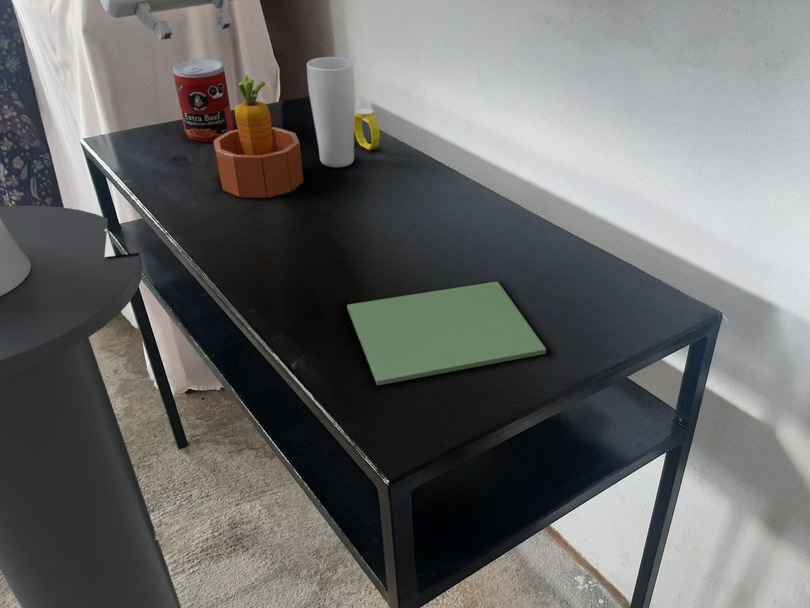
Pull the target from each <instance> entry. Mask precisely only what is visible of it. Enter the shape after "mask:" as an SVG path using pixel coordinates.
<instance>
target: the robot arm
mask: <svg viewBox="0 0 810 608" xmlns="http://www.w3.org/2000/svg"><path fill="white" fill-rule="evenodd" d="M99 1H100V3H101V6H102V9H103V10H104V11H105V13H106V14H108V15H109V16H111V17H112V18H114V19H118V18H125V17H126V18H127V17H133V16H136V17H137V19H138V20H139V22H141V23H142V24H143V25H145V26H146V27H147V28H149V29H150V30H152V31H153V32H154V34H155V35H156V37H157V38H158V40H159V41H163V40H169V39H171V38H172V35H173V30H172V29H171V27H170V26H169V23H168V21H167V20H160V19H158V18H157V17H156V16H155V15H154V14H153V13H158V12H166V11H172V10H178V9H186V8H193V7H199V6H205V5H211V4H212V5H213V6H214V8H215V9H219V11H218V12H217V16H216V17H215V19H214V21H215V22H216V25H218V28H219V29H220V30H226V29H231V28H232V26H233V19H232V17H231V15H230V13H229V12H228V11H229V2H232V1H234V0H99ZM30 270H31V262H30V260H29V258H28V257H27V256H26V255H25V254H24V253H23V251H22V250H21V249H20V247H19V246H18V245H17V243H16V242H15V240H14V239H13V238H12V236H11V234H10V233H9V231H8V229H7V228H6V226H5V224H4V223H3V221H2V219H1V217H0V296H2V295H4V294H6V293H8V292H9V291H11V290H13V289H14V288H15V287H17V286H18V285H19V284H21V283H22V282H23V281H24V280H25V279H26V277H27V276H28V274H29V273H30Z"/></svg>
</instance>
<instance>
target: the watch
mask: <svg viewBox="0 0 810 608" xmlns="http://www.w3.org/2000/svg"><path fill="white" fill-rule="evenodd" d="M363 119H365V120H366V121H367V124H368V127H369V130H370V135H371V141H370V143H368V141H367V139H366V137H365V133H364V131H363ZM354 136H355V139H356V141H357V142H358V144H359V146H360V147H362V148H365V149H366V150H368V151H371V150H375V149H377V148H378V146H379V145H380V140H381V139H380V138H381V134H380V127H379V124H378V122H377V120H376V118H375V110H374V109H371V108H360V109H357V110H356V113H355V116H354Z"/></svg>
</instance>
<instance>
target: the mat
mask: <svg viewBox="0 0 810 608" xmlns="http://www.w3.org/2000/svg"><path fill="white" fill-rule="evenodd" d="M346 306H347V312H348V314H349V316H350V320H351V321H352V324H353V327H354V330H355V332H356V335H357V337H358V339H359V342H360V345H361V347H362V348H361V349H362V351H363V354H364V355H365V358H366V361H367V363H368V365H369V369H370V371H371V374H372V376H373V378H374V381H375V384H376V386H383V385H388V384H393V383H397V382H403V381H409V380H414V379H419V378H425V377H430V376H435V375H441V374H446V373H452V372H456V371H461V370H467V369H471V368H472V369H473V368H477V367H483V366H488V365H493V364H499V363H504V362H509V361H515V360H520V359H525V358H531V357H536V356H541V355H545V354H546V353H547V348H546V347H545V345H544V344H543V342H542V341H541V340H540V339H539V337H538V336H537V334H536V333H535V331H534V330H533V329H532V327H531V325H530V324H529V323H528V321H527V320H526V319H525V317H524V316H523V314H522V313H521V312H520V311H519V309H518V307H517V306H516V305H515V303H514V302H513V301H512V299H511V298H510V296H509V295H508V294H507V292H506V291H505V289H504V288H503V287H502V286H501V283H499V281H491V282H485V283H477V284H472V285H465V286H459V287H452V288H446V289H440V290H439V289H438V290H433V291H426V292H421V293H420V292H419V293H413V294H408V295H407V294H406V295H401V296H394V297H389V298H388V297H387V298H382V299H374V300H368V301H362V302H356V303H350V304H347V305H346Z"/></svg>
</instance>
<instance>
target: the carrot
mask: <svg viewBox="0 0 810 608" xmlns="http://www.w3.org/2000/svg"><path fill="white" fill-rule="evenodd" d="M254 82H255V80H254V79H252V78H249V76H248V75H246V76H243V77H242V81H240V82H239V83H238V87H239V90H240V92H241V94H242V96H243V97H244V99H245V101H243V102H240V103H239V104H237V105H236V106H235V107H234V115H235V121H236V127H237V130H238V132H239V136H240V140H241V144H242V147H243V150H244V153H245V155H264V154H269V153H272V144H273V139H272V127H273V126H272V118H271V111H270V109H269V107H268V105H267V104H266V103H265V102H262V101H258V100H257V99H258V96H259V94H258V93H259V92H260V91H261V89H262V88H263V87H264V86H265V85H266V82H265V81H261V82H259V83H258V84H256V86H255V88H254Z"/></svg>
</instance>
